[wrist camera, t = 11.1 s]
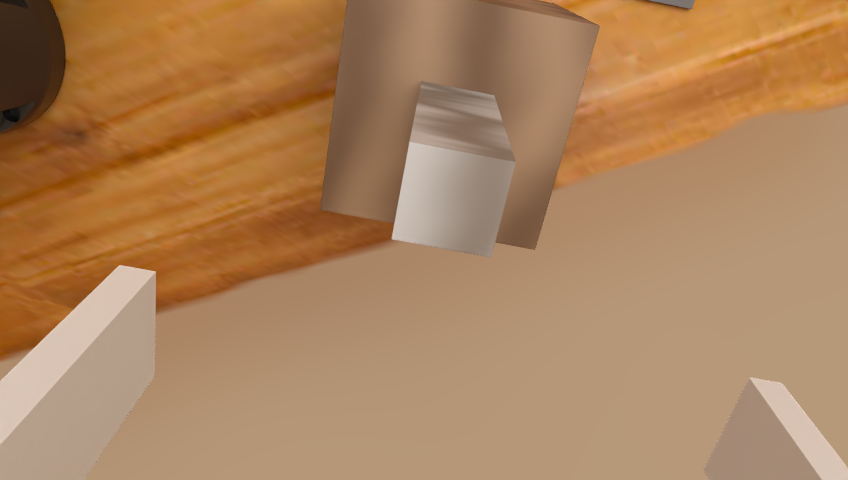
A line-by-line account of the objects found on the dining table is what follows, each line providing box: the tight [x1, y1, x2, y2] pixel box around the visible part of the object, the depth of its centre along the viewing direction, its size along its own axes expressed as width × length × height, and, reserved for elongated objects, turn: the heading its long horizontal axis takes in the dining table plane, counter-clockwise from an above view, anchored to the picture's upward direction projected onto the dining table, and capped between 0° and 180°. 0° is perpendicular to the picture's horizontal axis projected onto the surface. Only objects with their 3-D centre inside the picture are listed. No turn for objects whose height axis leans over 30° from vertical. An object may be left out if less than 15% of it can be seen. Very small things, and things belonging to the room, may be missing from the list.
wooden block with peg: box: [320, 0, 600, 257], centre depth 37 cm, size 13×13×27 cm
